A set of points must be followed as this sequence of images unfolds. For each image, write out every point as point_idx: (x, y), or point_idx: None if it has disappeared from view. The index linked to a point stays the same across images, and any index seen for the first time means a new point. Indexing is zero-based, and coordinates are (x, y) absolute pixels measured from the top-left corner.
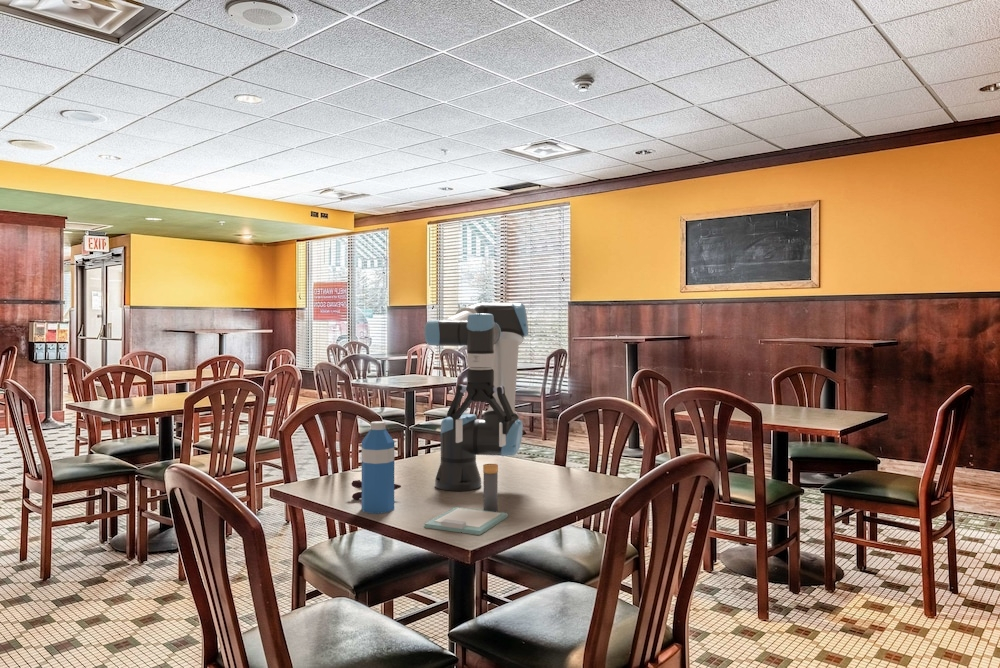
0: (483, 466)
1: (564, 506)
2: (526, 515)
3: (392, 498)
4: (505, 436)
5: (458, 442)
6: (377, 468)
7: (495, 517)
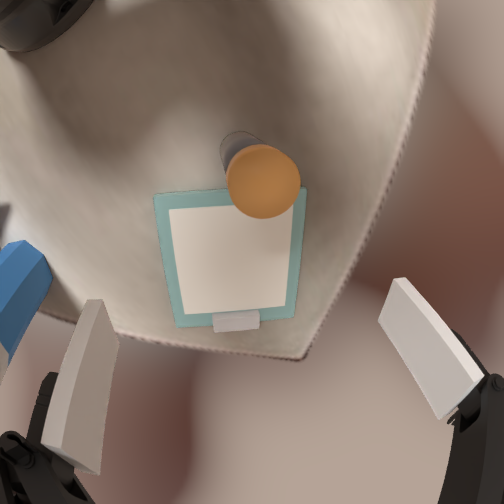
0: (236, 206)
1: (394, 56)
2: (341, 156)
3: (35, 275)
4: (431, 311)
5: (117, 341)
6: (11, 357)
7: (291, 234)
